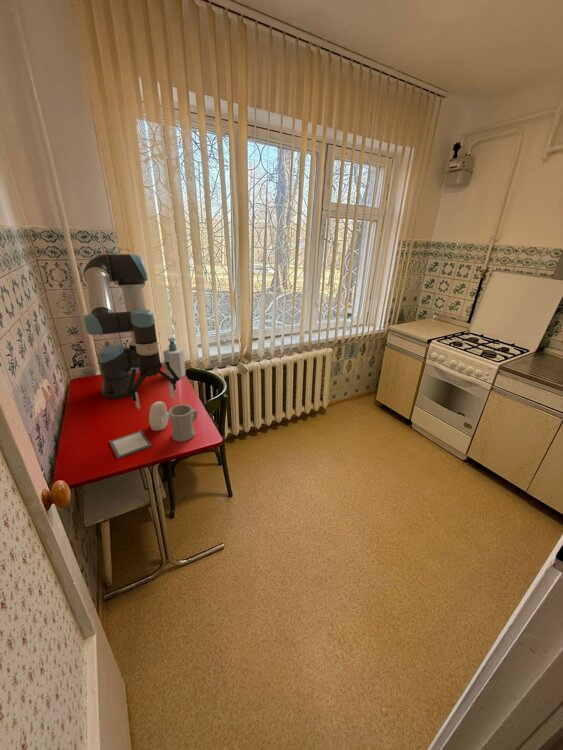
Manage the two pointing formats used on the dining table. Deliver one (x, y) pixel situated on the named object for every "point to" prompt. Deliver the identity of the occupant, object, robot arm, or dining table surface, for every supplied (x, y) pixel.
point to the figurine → (158, 416)
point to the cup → (182, 422)
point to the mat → (129, 444)
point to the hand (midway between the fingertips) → (156, 402)
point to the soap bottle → (174, 359)
